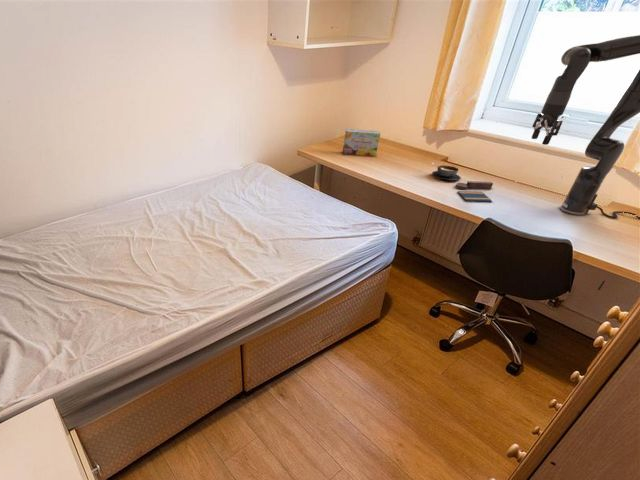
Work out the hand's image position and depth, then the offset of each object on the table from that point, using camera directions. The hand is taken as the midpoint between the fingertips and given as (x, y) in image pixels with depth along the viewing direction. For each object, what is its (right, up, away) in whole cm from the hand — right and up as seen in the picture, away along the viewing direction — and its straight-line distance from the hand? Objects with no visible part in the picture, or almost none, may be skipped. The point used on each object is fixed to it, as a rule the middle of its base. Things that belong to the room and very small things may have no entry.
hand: (539, 141), depth 166 cm
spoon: (-9, -13, +34) cm, 37 cm away
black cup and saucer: (-17, -5, +47) cm, 50 cm away
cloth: (-14, -20, +24) cm, 34 cm away
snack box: (-54, +18, +81) cm, 99 cm away
